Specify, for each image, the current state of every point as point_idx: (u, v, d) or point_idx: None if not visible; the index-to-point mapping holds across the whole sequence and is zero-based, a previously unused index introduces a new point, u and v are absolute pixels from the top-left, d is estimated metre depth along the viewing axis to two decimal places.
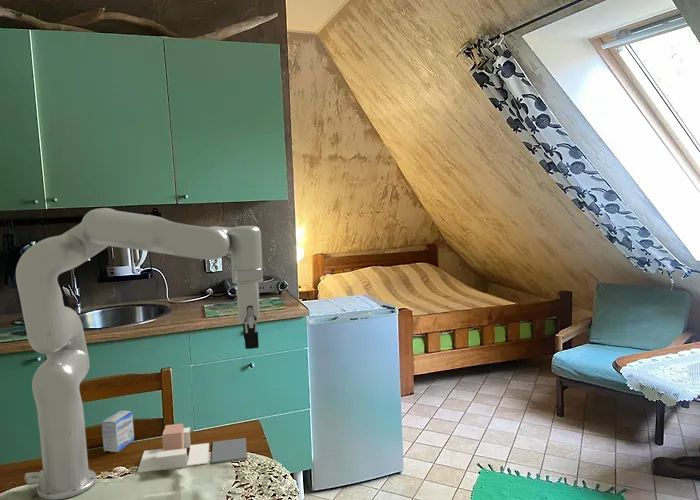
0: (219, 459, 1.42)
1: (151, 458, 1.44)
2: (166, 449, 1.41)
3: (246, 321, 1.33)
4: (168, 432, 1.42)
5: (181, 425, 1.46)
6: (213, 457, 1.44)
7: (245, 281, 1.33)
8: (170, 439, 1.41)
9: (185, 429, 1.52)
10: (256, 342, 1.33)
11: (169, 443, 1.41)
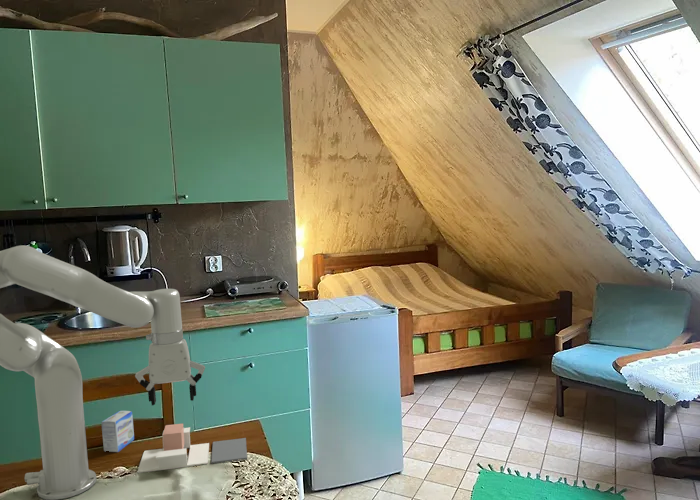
0: (219, 459, 1.42)
1: (151, 458, 1.44)
2: (166, 449, 1.41)
3: None
4: (168, 432, 1.42)
5: (181, 425, 1.46)
6: (213, 457, 1.44)
7: (182, 339, 1.42)
8: (170, 439, 1.41)
9: (185, 429, 1.52)
10: None
11: (169, 443, 1.41)
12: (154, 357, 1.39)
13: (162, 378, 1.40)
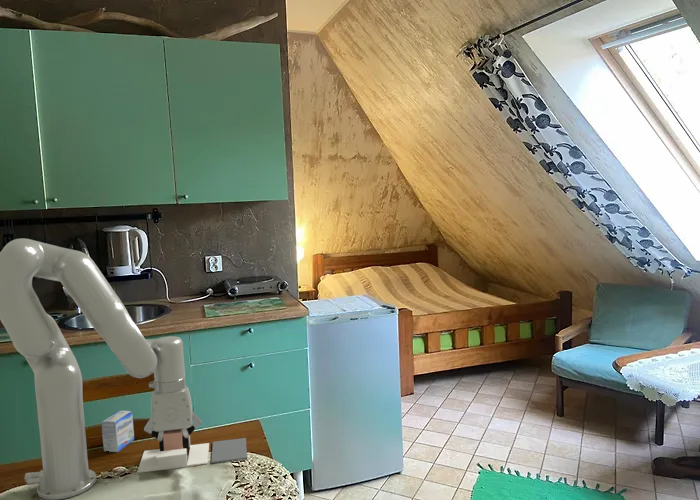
0: (219, 459, 1.42)
1: (151, 458, 1.44)
2: (166, 449, 1.41)
3: None
4: (168, 432, 1.42)
5: None
6: (213, 457, 1.44)
7: (185, 387, 1.43)
8: (170, 439, 1.41)
9: None
10: None
11: (169, 443, 1.41)
12: (156, 405, 1.40)
13: (164, 426, 1.41)
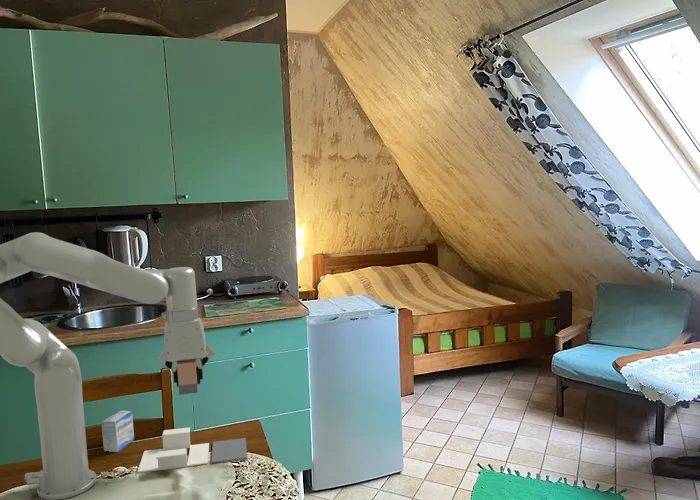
0: (219, 459, 1.42)
1: (151, 458, 1.44)
2: (180, 379, 1.40)
3: (199, 357, 1.43)
4: (182, 362, 1.41)
5: None
6: (213, 457, 1.44)
7: (197, 317, 1.42)
8: (184, 369, 1.40)
9: (185, 429, 1.52)
10: None
11: (183, 373, 1.40)
12: (170, 334, 1.39)
13: (177, 356, 1.40)
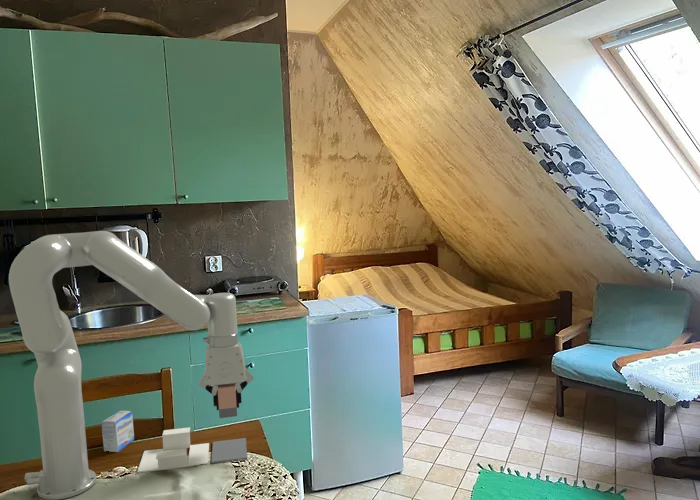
0: (219, 459, 1.42)
1: (151, 458, 1.44)
2: (221, 403, 1.43)
3: None
4: (222, 386, 1.44)
5: None
6: (213, 457, 1.44)
7: (238, 342, 1.45)
8: (224, 393, 1.43)
9: (185, 429, 1.52)
10: None
11: (223, 397, 1.43)
12: (211, 359, 1.42)
13: (218, 380, 1.43)
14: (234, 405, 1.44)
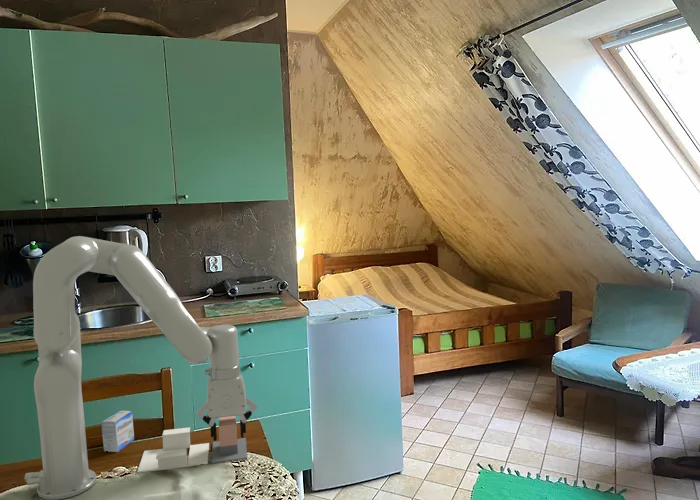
0: (219, 459, 1.42)
1: (151, 458, 1.44)
2: (221, 440, 1.44)
3: None
4: (223, 424, 1.45)
5: (234, 417, 1.49)
6: (213, 457, 1.44)
7: (239, 374, 1.46)
8: (225, 431, 1.44)
9: (185, 429, 1.52)
10: None
11: (224, 434, 1.44)
12: (212, 392, 1.43)
13: (219, 412, 1.43)
14: (235, 442, 1.45)
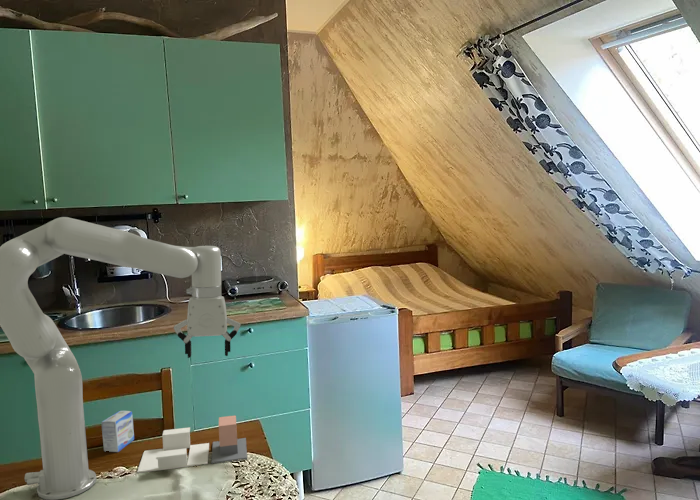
0: (219, 459, 1.42)
1: (151, 458, 1.44)
2: (221, 440, 1.44)
3: None
4: (223, 424, 1.45)
5: (234, 417, 1.49)
6: (213, 457, 1.44)
7: (220, 295, 1.46)
8: (225, 431, 1.44)
9: (185, 429, 1.52)
10: None
11: (224, 434, 1.44)
12: (193, 310, 1.43)
13: (199, 331, 1.44)
14: (235, 442, 1.45)
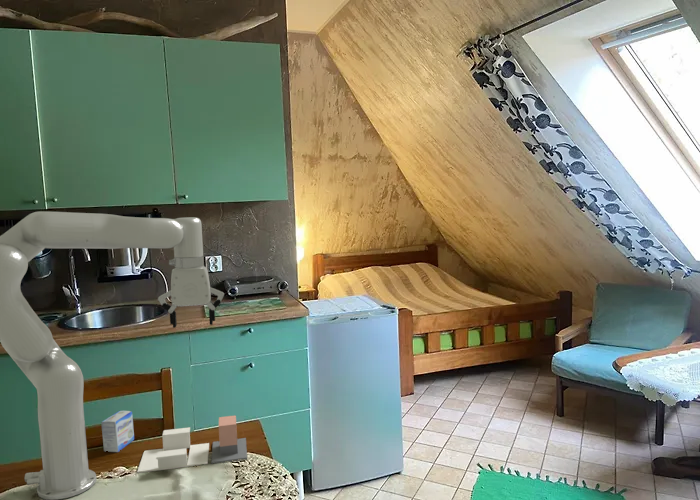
0: (219, 459, 1.42)
1: (151, 458, 1.44)
2: (221, 440, 1.44)
3: None
4: (223, 424, 1.45)
5: (234, 417, 1.49)
6: (213, 457, 1.44)
7: (203, 265, 1.49)
8: (225, 431, 1.44)
9: (185, 429, 1.52)
10: None
11: (224, 434, 1.44)
12: (176, 280, 1.46)
13: (183, 301, 1.47)
14: (235, 442, 1.45)
